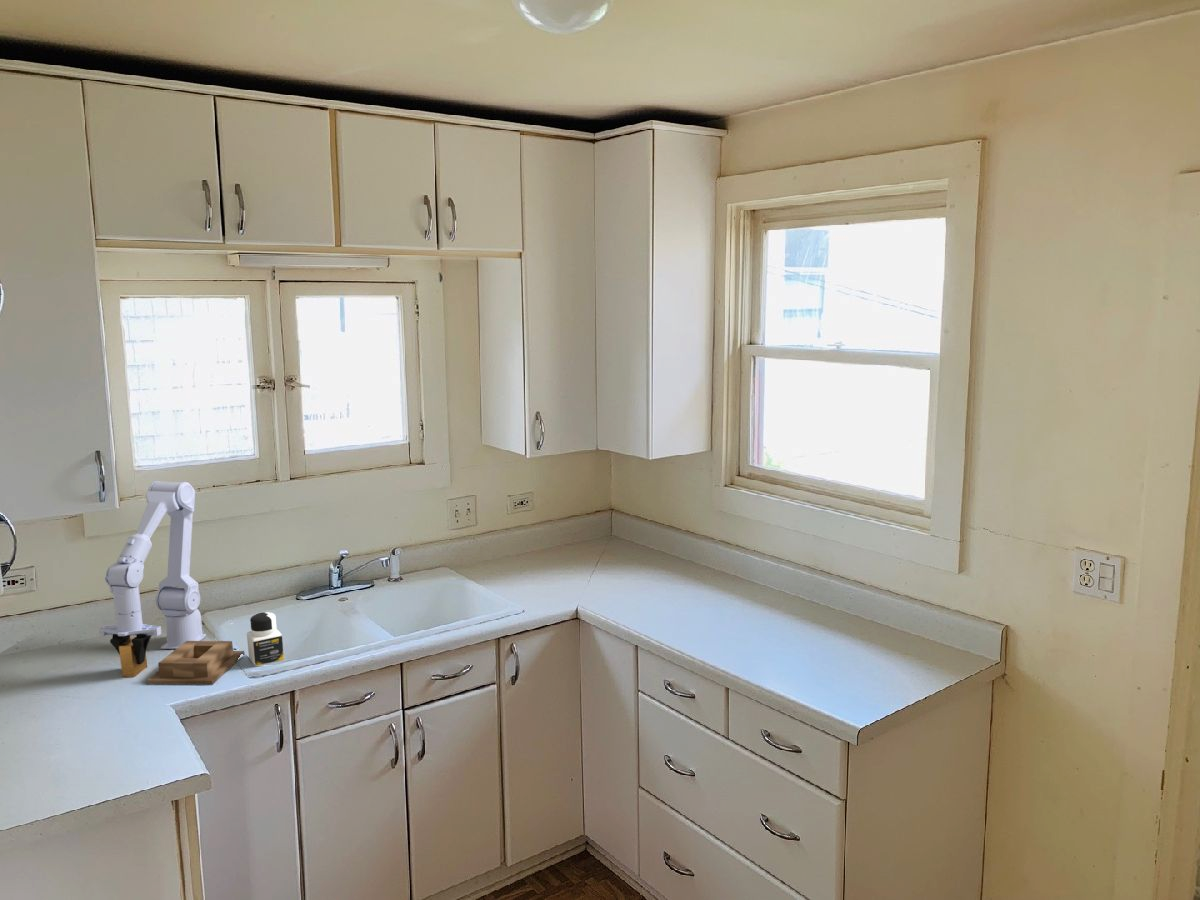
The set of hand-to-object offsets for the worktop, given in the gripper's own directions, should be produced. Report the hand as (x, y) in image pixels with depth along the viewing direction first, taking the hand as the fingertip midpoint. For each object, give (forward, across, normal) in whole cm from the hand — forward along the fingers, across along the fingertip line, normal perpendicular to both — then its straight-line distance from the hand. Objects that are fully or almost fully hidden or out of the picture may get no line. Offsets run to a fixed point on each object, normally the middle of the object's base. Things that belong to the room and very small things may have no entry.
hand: (134, 662), depth 226 cm
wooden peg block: (+2, 0, 0) cm, 2 cm away
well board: (+2, +15, +2) cm, 15 cm away
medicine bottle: (+3, +30, +8) cm, 31 cm away
